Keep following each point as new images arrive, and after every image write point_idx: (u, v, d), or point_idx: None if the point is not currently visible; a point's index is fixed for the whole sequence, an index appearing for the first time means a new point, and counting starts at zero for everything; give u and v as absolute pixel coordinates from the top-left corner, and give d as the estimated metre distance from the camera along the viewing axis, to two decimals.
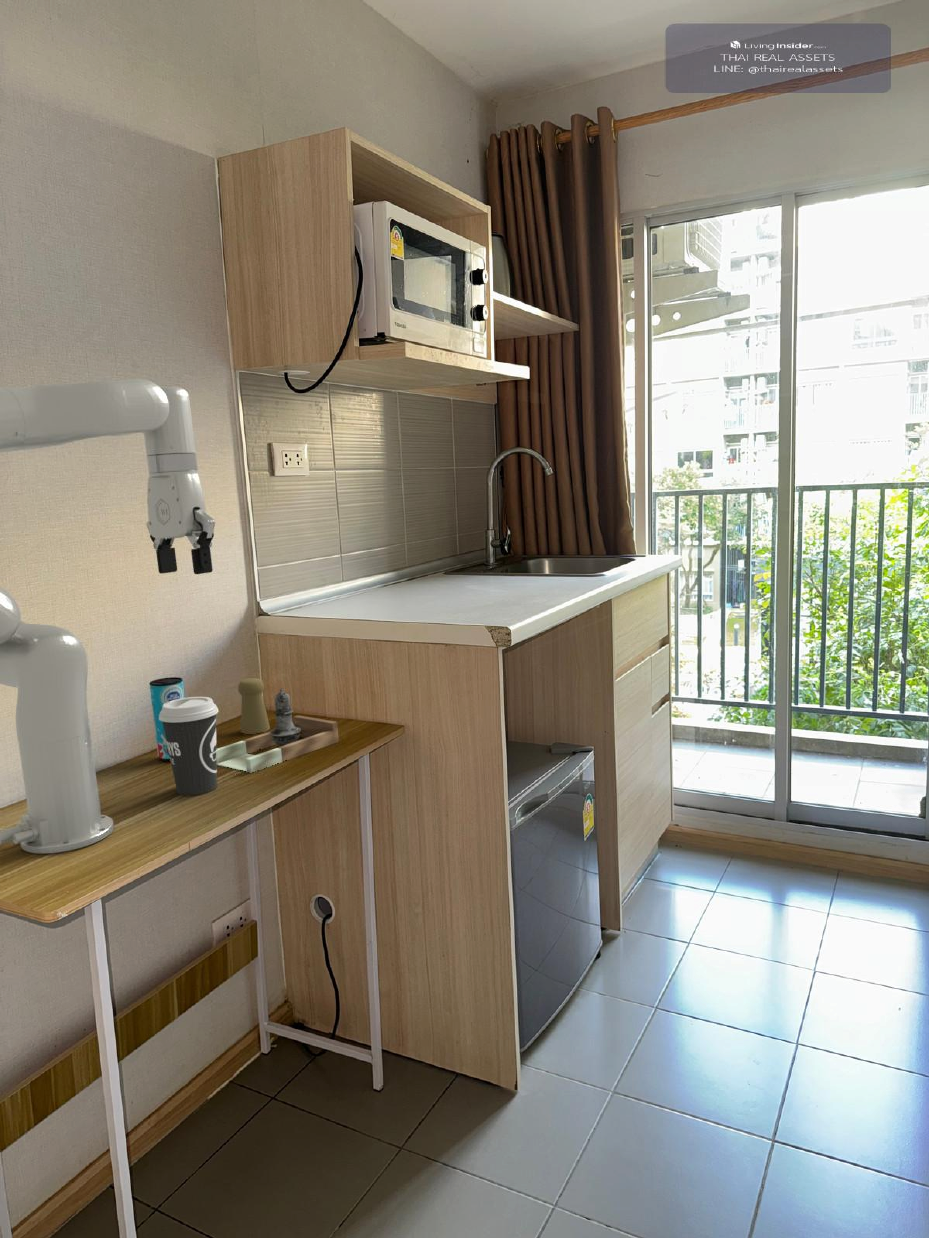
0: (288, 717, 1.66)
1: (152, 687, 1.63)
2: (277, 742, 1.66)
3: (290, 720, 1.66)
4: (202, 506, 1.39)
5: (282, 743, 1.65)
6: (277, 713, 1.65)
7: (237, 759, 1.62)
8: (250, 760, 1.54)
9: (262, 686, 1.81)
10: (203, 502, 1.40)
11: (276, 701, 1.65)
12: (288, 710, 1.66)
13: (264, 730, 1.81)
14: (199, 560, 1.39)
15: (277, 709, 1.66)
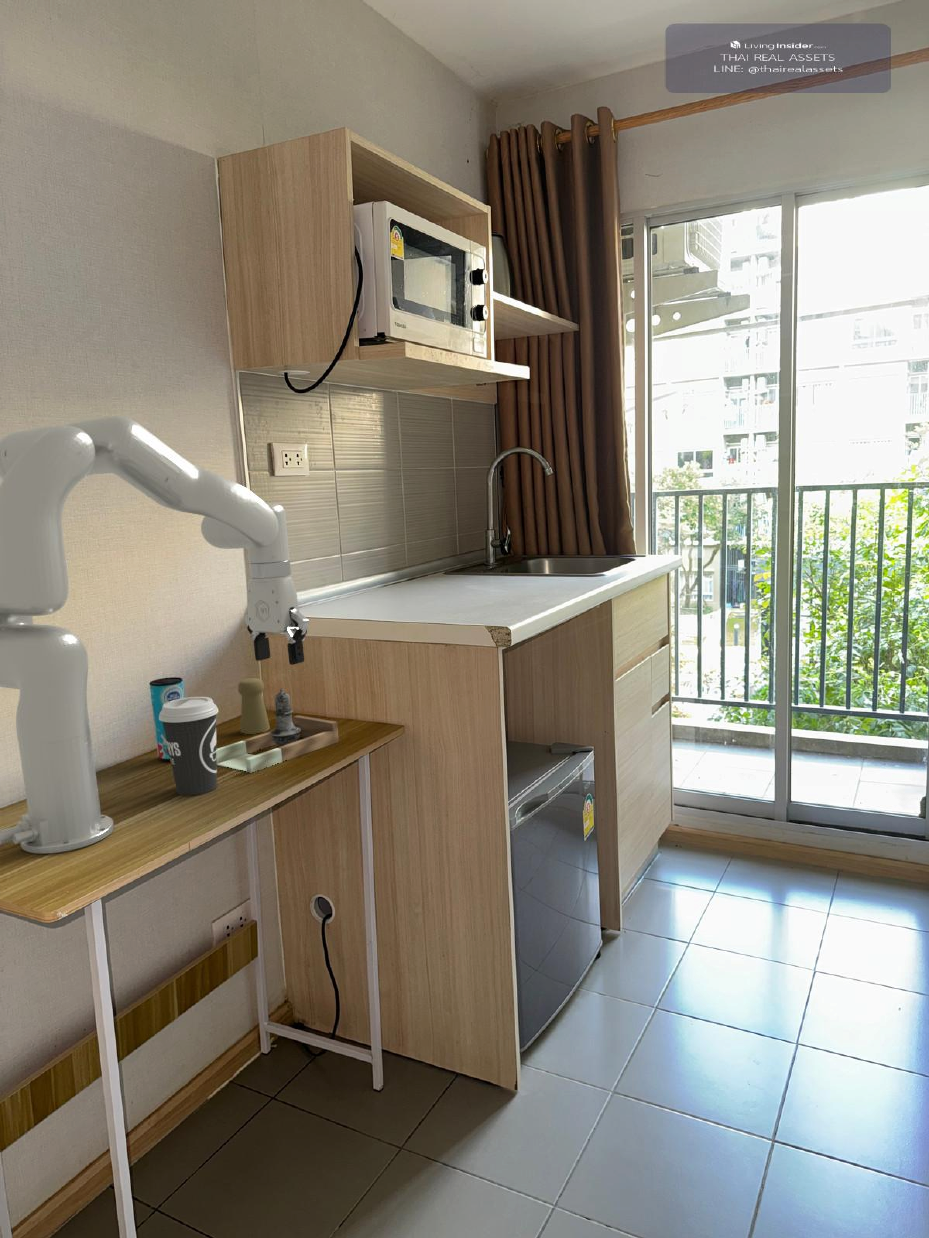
0: (288, 717, 1.66)
1: (152, 687, 1.63)
2: (277, 742, 1.66)
3: (290, 720, 1.66)
4: (296, 605, 1.62)
5: (282, 743, 1.65)
6: (277, 713, 1.65)
7: (237, 759, 1.62)
8: (250, 760, 1.54)
9: (262, 686, 1.81)
10: (297, 602, 1.62)
11: (276, 701, 1.65)
12: (288, 710, 1.66)
13: (264, 730, 1.81)
14: (294, 653, 1.61)
15: (277, 709, 1.66)
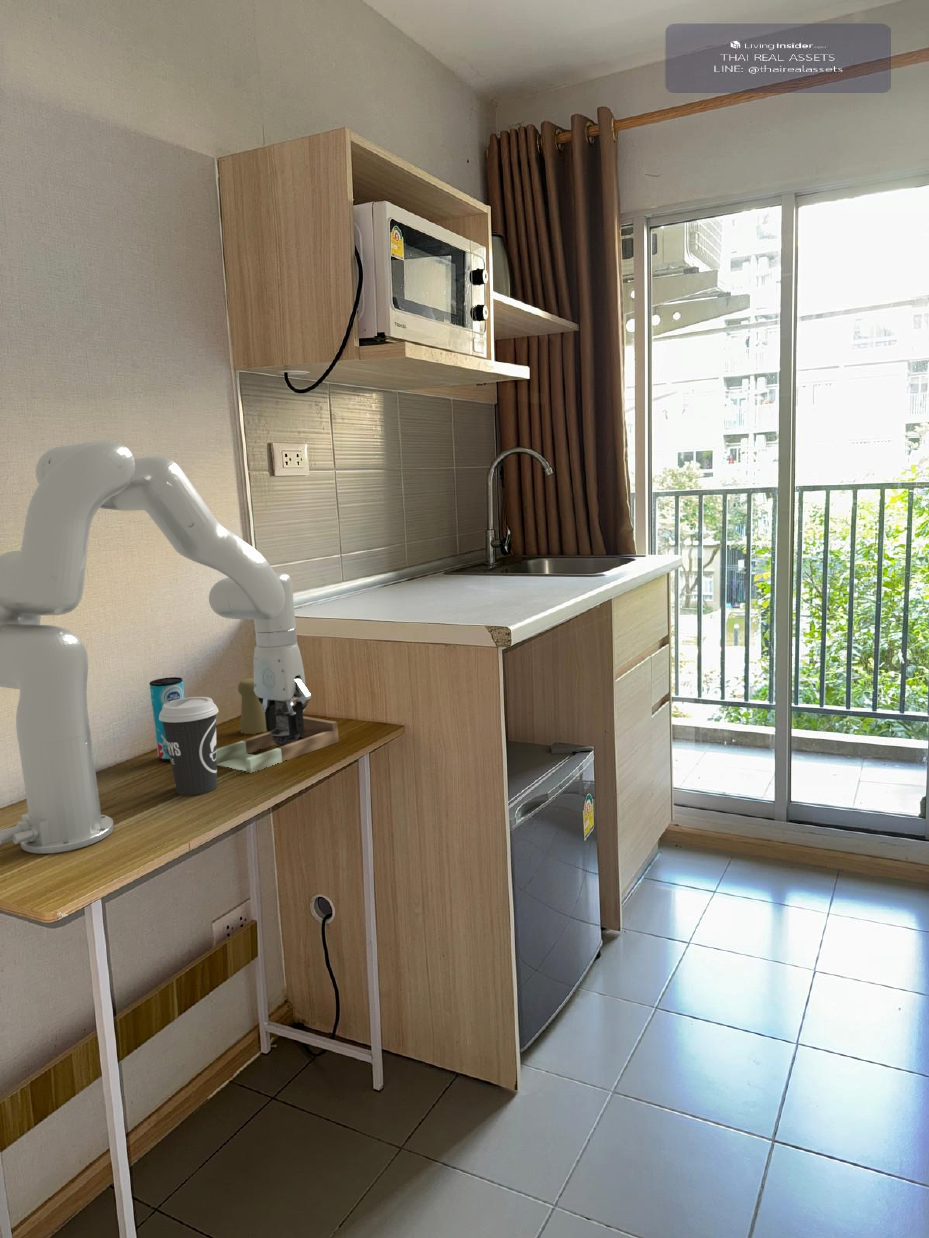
0: None
1: (152, 687, 1.63)
2: (277, 742, 1.66)
3: None
4: (302, 673, 1.64)
5: (282, 743, 1.65)
6: (277, 713, 1.65)
7: (237, 759, 1.62)
8: (250, 760, 1.54)
9: None
10: (302, 670, 1.64)
11: (276, 701, 1.65)
12: (288, 710, 1.66)
13: (264, 730, 1.81)
14: (294, 724, 1.64)
15: (277, 709, 1.66)
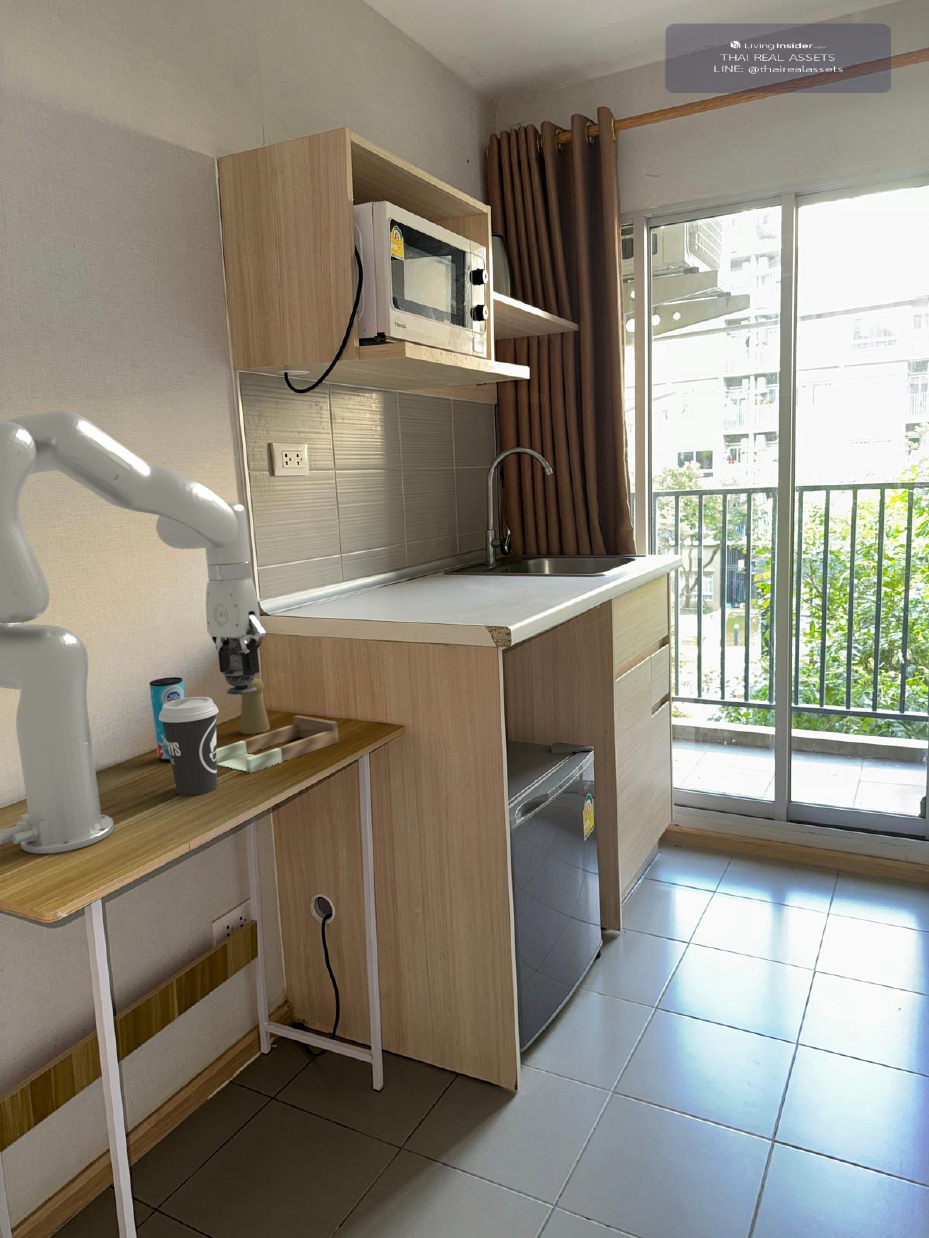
0: None
1: (152, 687, 1.63)
2: (230, 682, 1.57)
3: None
4: (256, 609, 1.55)
5: (236, 683, 1.56)
6: (230, 652, 1.56)
7: (237, 759, 1.62)
8: (250, 760, 1.54)
9: (262, 686, 1.81)
10: (257, 606, 1.55)
11: (229, 639, 1.56)
12: (242, 649, 1.57)
13: (264, 730, 1.81)
14: (248, 663, 1.55)
15: (230, 648, 1.57)
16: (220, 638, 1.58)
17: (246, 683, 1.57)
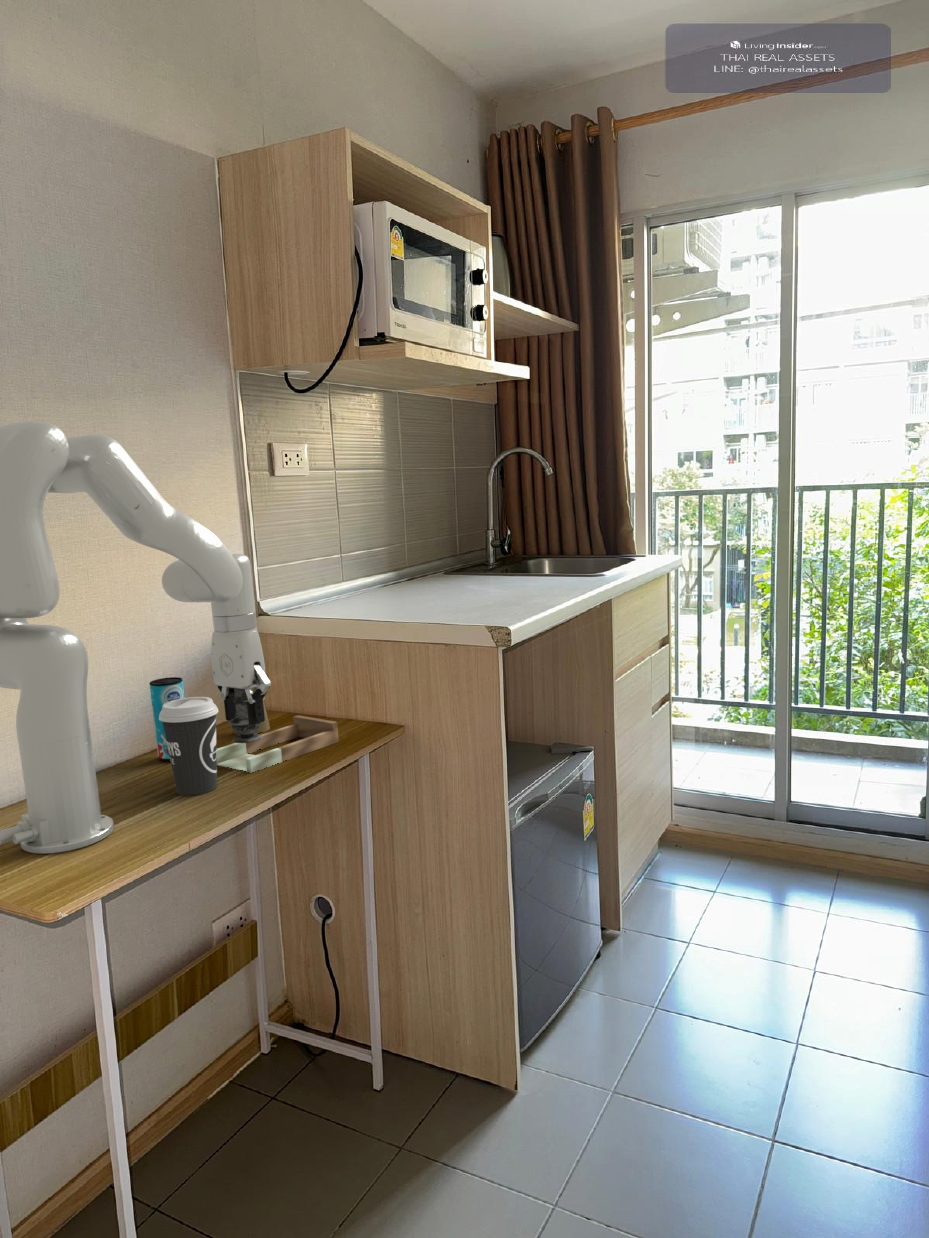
0: None
1: (152, 687, 1.63)
2: (236, 731, 1.58)
3: None
4: (261, 659, 1.56)
5: (242, 732, 1.58)
6: (236, 701, 1.58)
7: (237, 759, 1.62)
8: (250, 760, 1.54)
9: None
10: (262, 656, 1.56)
11: (235, 688, 1.58)
12: None
13: (264, 730, 1.81)
14: (254, 713, 1.57)
15: (236, 697, 1.58)
16: (226, 687, 1.60)
17: (252, 732, 1.59)
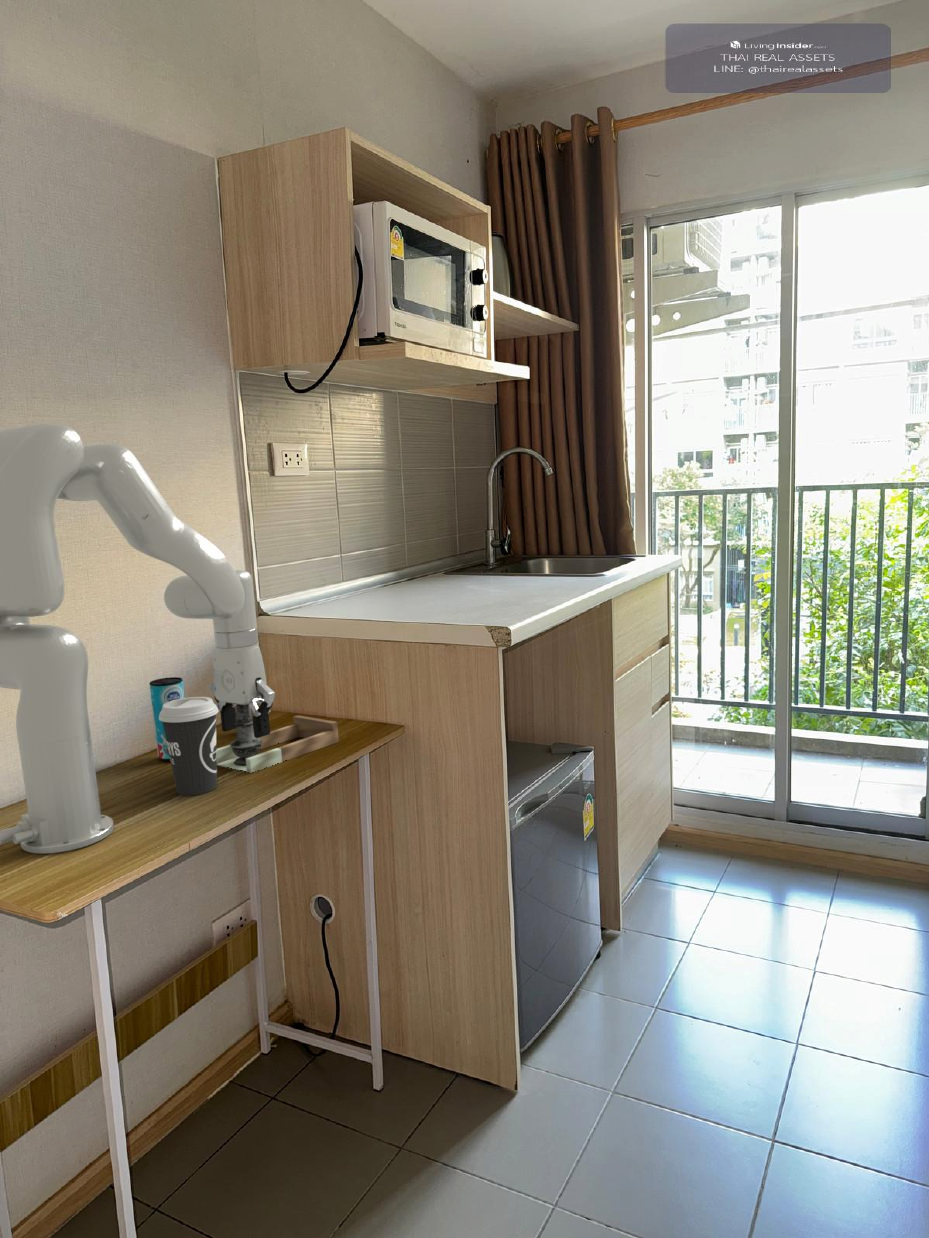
0: (249, 728, 1.59)
1: (152, 687, 1.63)
2: (237, 754, 1.58)
3: (251, 731, 1.59)
4: (263, 675, 1.56)
5: (242, 755, 1.58)
6: (237, 724, 1.58)
7: None
8: (250, 760, 1.54)
9: None
10: (264, 672, 1.57)
11: (236, 711, 1.58)
12: (249, 721, 1.59)
13: None
14: (259, 726, 1.56)
15: (237, 720, 1.58)
16: None
17: (253, 754, 1.59)
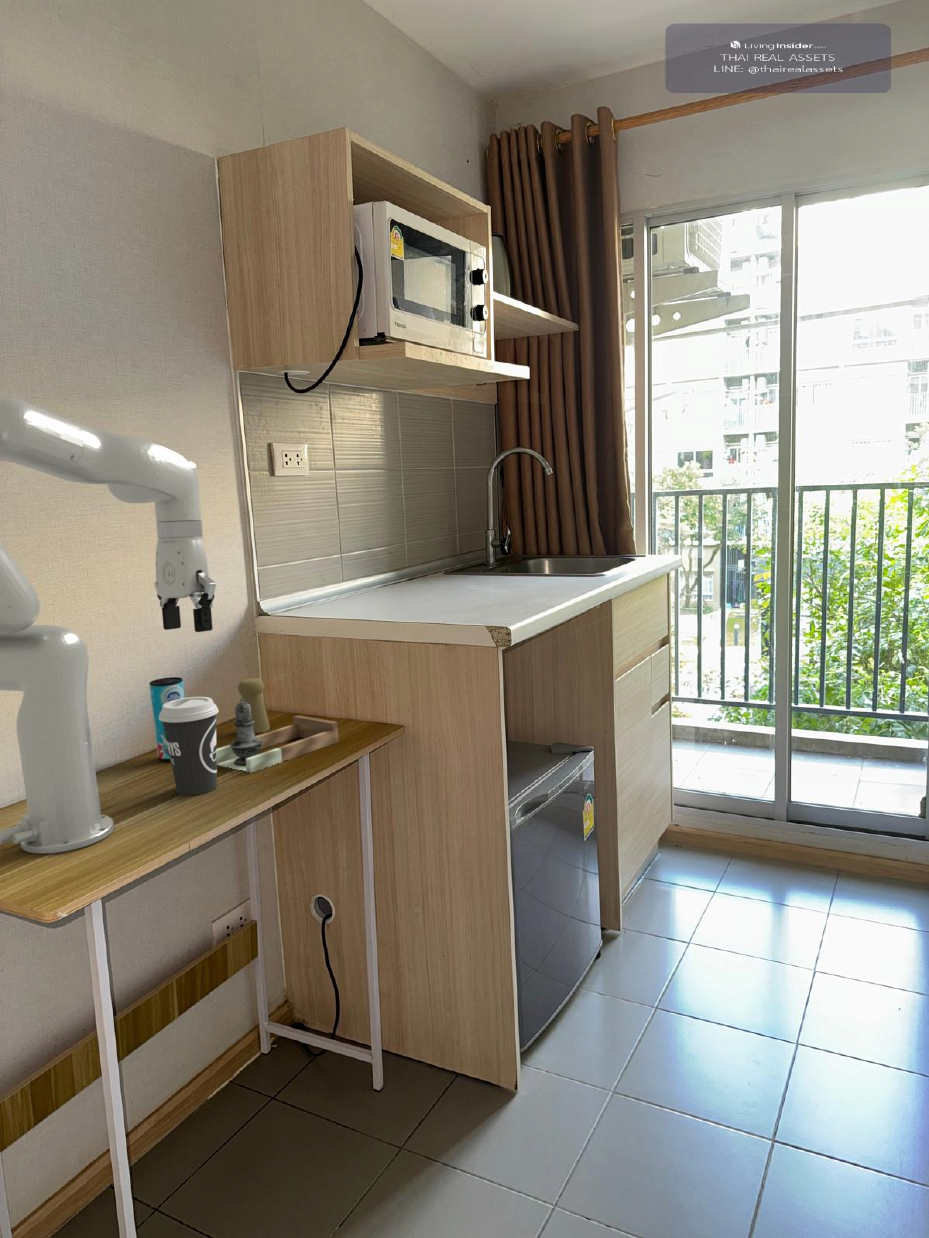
0: (249, 728, 1.59)
1: (152, 687, 1.63)
2: (237, 754, 1.58)
3: (251, 731, 1.59)
4: (205, 569, 1.51)
5: (242, 755, 1.58)
6: (237, 724, 1.58)
7: None
8: (250, 760, 1.54)
9: (262, 686, 1.81)
10: (206, 565, 1.51)
11: (236, 711, 1.58)
12: (249, 721, 1.59)
13: (264, 730, 1.81)
14: (200, 619, 1.50)
15: (237, 720, 1.58)
16: None
17: (253, 754, 1.59)
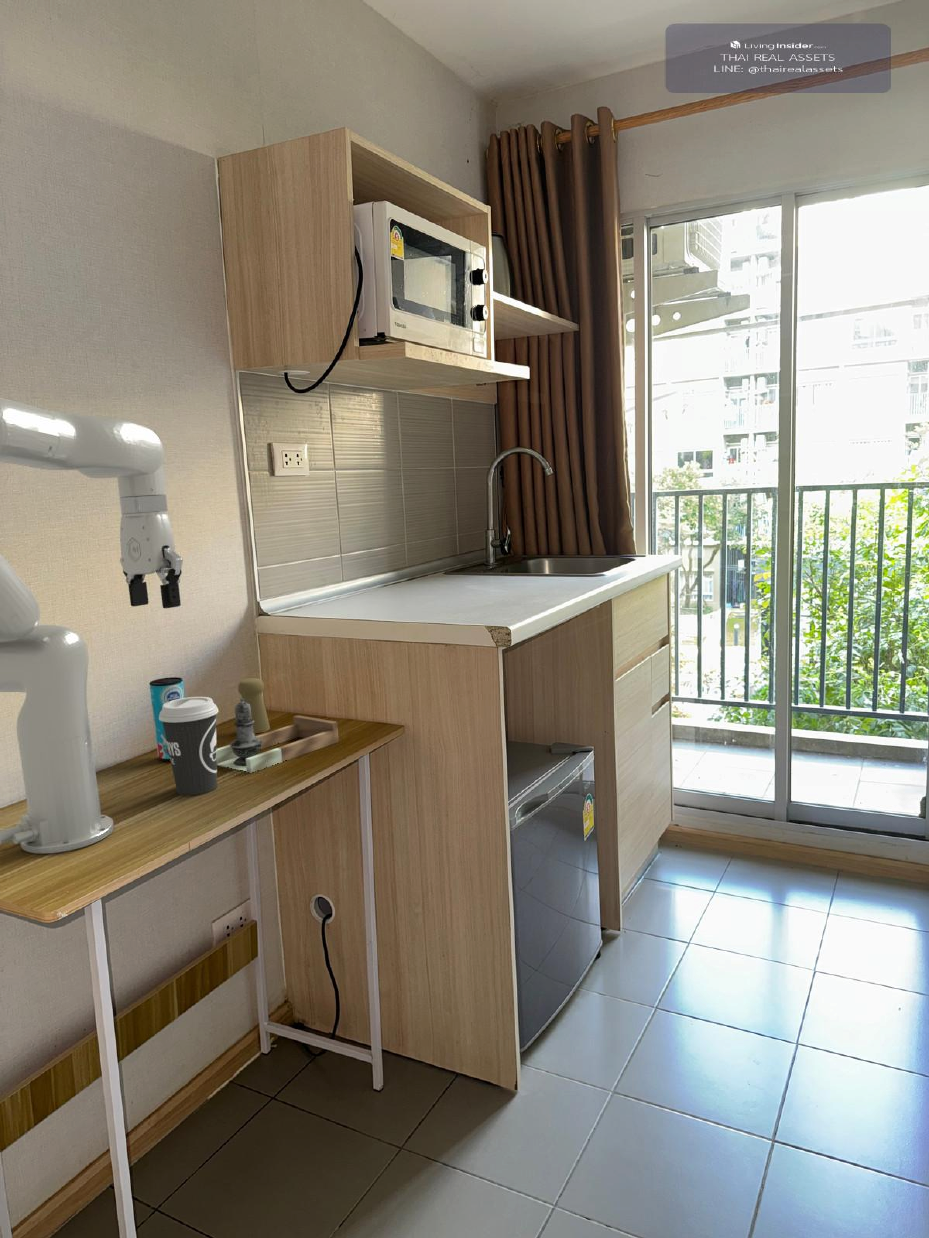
0: (249, 728, 1.59)
1: (152, 687, 1.63)
2: (237, 754, 1.58)
3: (251, 731, 1.59)
4: (171, 544, 1.49)
5: (242, 755, 1.58)
6: (237, 724, 1.58)
7: None
8: (250, 760, 1.54)
9: (262, 686, 1.81)
10: (172, 541, 1.49)
11: (236, 711, 1.58)
12: (249, 721, 1.59)
13: (264, 730, 1.81)
14: (168, 595, 1.48)
15: (237, 720, 1.58)
16: None
17: (253, 754, 1.59)
